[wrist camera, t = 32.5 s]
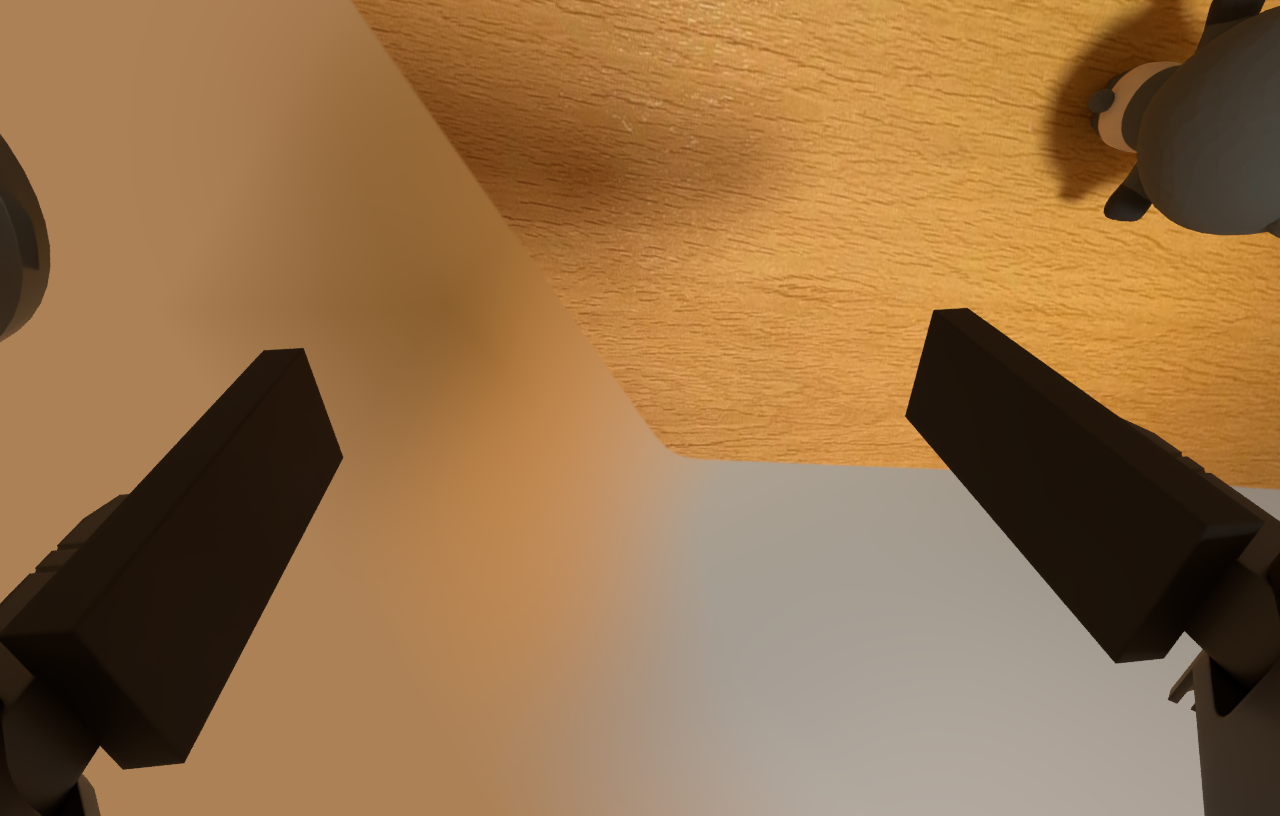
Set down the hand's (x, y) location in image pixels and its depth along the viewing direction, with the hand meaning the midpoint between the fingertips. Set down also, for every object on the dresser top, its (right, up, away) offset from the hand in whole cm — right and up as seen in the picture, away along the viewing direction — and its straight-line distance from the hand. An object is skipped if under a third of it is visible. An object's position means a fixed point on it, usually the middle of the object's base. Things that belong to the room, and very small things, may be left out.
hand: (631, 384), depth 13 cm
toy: (+29, +18, +24) cm, 42 cm away
